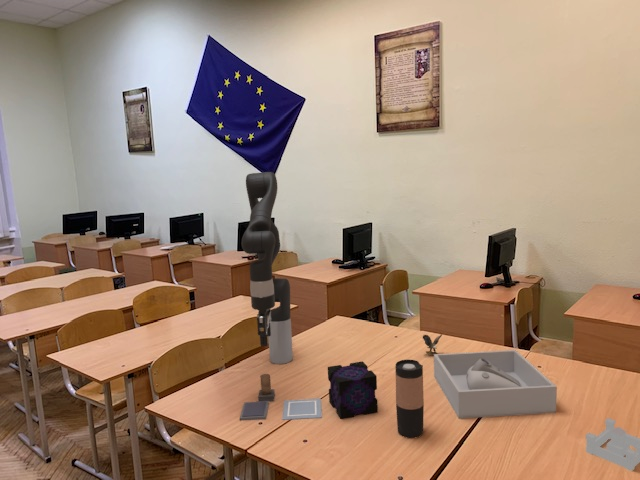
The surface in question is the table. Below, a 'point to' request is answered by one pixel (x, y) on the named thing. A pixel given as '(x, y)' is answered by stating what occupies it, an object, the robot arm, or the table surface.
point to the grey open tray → (498, 401)
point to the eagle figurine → (431, 344)
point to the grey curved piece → (489, 377)
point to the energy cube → (352, 390)
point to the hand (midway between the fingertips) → (265, 340)
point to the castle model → (615, 446)
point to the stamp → (266, 389)
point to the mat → (302, 409)
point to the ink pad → (254, 410)
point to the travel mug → (409, 398)
